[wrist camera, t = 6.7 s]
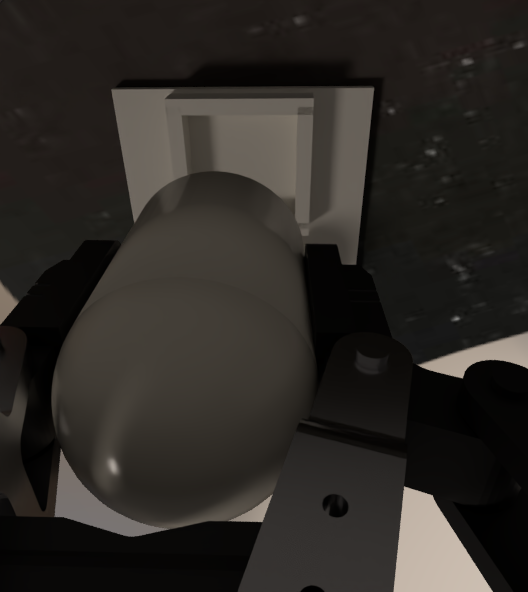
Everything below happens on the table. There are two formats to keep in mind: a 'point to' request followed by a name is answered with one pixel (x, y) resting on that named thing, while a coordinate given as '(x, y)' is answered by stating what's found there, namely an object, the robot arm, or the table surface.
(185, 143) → the white holder tray
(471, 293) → the table surface
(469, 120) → the table surface
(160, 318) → the white capsule
